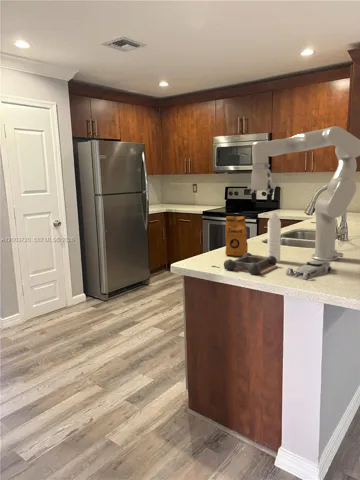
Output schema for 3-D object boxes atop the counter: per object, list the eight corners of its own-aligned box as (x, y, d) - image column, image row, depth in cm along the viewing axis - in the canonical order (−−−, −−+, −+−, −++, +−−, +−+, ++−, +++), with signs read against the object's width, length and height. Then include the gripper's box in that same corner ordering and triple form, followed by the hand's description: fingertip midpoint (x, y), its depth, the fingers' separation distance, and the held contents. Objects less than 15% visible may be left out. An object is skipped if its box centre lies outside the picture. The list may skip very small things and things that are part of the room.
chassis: (278, 266, 169) (279, 256, 169) (259, 276, 155) (260, 265, 154) (242, 261, 182) (242, 251, 181) (222, 269, 168) (221, 259, 167)
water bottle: (279, 259, 183) (280, 211, 179) (280, 262, 177) (281, 213, 173) (262, 259, 185) (262, 212, 180) (263, 262, 178) (263, 213, 174)
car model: (283, 276, 155) (284, 265, 155) (315, 266, 169) (316, 256, 169) (305, 281, 147) (306, 270, 146) (337, 270, 161) (338, 260, 160)
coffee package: (245, 257, 190) (245, 217, 186) (223, 256, 195) (222, 216, 191) (249, 254, 198) (249, 215, 194) (228, 252, 204) (228, 214, 200)
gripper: (280, 165, 169) (280, 201, 172) (252, 167, 182) (253, 201, 185) (270, 166, 164) (270, 203, 167) (242, 168, 178) (243, 202, 181)
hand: (261, 201), depth 176 cm, fingers open, 9 cm apart
